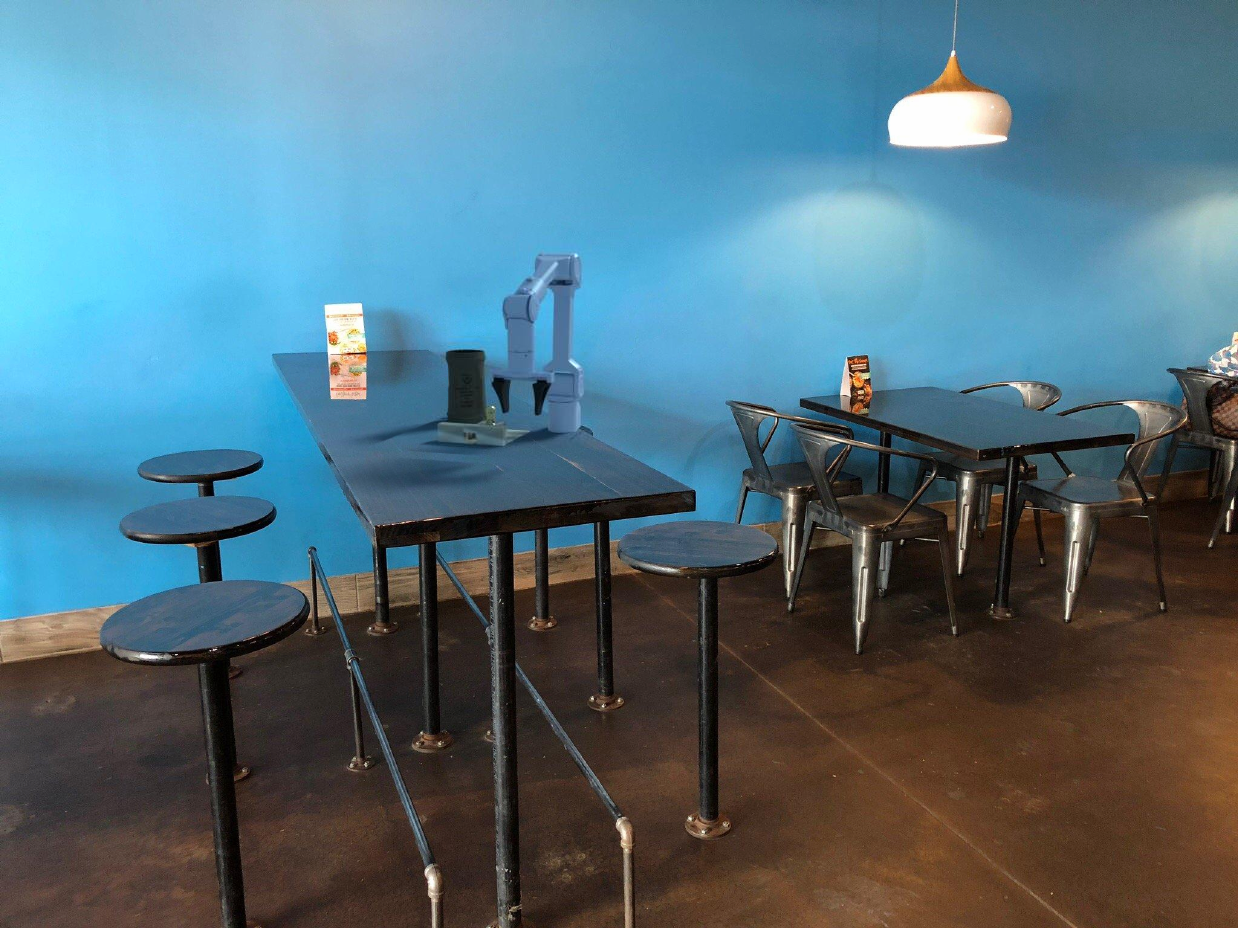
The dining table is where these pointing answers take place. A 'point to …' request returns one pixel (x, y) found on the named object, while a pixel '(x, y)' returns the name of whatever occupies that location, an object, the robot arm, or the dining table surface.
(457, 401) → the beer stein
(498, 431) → the door board
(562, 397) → the robot arm
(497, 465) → the dining table surface
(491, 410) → the bolt
